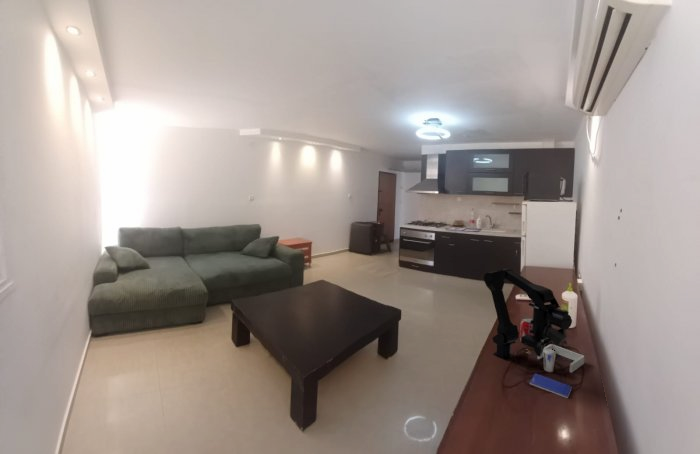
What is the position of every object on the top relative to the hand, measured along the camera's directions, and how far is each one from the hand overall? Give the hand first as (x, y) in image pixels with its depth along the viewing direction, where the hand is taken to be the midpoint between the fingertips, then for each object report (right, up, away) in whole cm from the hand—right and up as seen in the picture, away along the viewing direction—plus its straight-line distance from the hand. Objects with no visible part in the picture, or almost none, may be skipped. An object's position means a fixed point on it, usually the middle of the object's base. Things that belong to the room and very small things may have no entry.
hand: (538, 355), depth 126 cm
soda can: (+12, -6, +29) cm, 32 cm away
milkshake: (+7, -8, +5) cm, 12 cm away
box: (+17, -7, +12) cm, 22 cm away
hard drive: (+1, -10, -6) cm, 12 cm away
